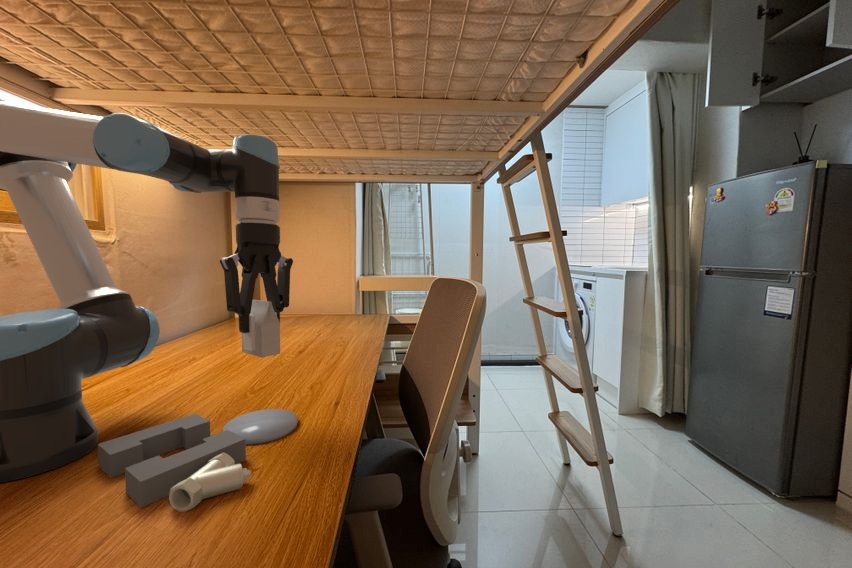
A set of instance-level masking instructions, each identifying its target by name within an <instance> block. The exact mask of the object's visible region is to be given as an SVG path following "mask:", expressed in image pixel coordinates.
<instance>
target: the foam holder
mask: <svg viewBox="0 0 852 568" xmlns="http://www.w3.org/2000/svg"><path fill="white" fill-rule="evenodd" d="M246 447H247V446H246V442H245V438H243V437H241V436H239V435H237V434H235V433H233V432H231V431H229V430H226V431H223V430H222V431H220V432H219V433H216V434H212V435H211V421H210V419H207V418H206V417H203V416H201V415H199V414H197V413H193V414H189V415H186V416H183V417H180V418H176V419H174V420H170V421H167V422H164V423H161V424H160V423H159V424H157V425H154V426H151V427H148V428H145V429H142V430H138V431H135V432H131V433H130V434H126V435H122V436H119V437H115V438H113V439H109V440H106V441H103V442H100V443H97V455H98V456H97V458H98V467H99V468H101V470H102V471H103V472H104V473H105V474H106V475H107V476H108V477H110V478H114V477H116V476H120V475H122V474H124V476H125V493H126V494H127V495H128V496H129V497H130V498H131V500H133V502H135V503H136V504H137V505H138V506H139V507H140V508H141V509H142V508H144V507H146V506H148V505H151V504H153V503H155V502H158V501H159V500H162V499H163V498H164V499H165V498H166V497H169V495H170V489H171V488H172V487H173V486H175V485H176V484H178V483H179V482H181V481H183V480H186V479H187V478H188V477H190V476H191V475H193V474H194V473H195V472H197V471H198V470H199V469H201V468H202V467H203V466H205V465H206V464H207V462H208V461H209V460H210V459H212V458H213V457H215V456H217V455H219V454H222V453H226V454H228V455H229V456H231V457H232V458H233V460H234V461H235V465H236V464H241V463H242V462H244V461H247V457H246V456H247V454H246V453H247V452H246V451H247V450H246ZM180 448H183V449H185V450H182V451H180V452H176V453H175V454H172V455H169V456H166V457H164V458H163V457H162V456H160V455H164V454H166V453H169V452H172V451H174V450H176V449H180Z"/></svg>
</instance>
